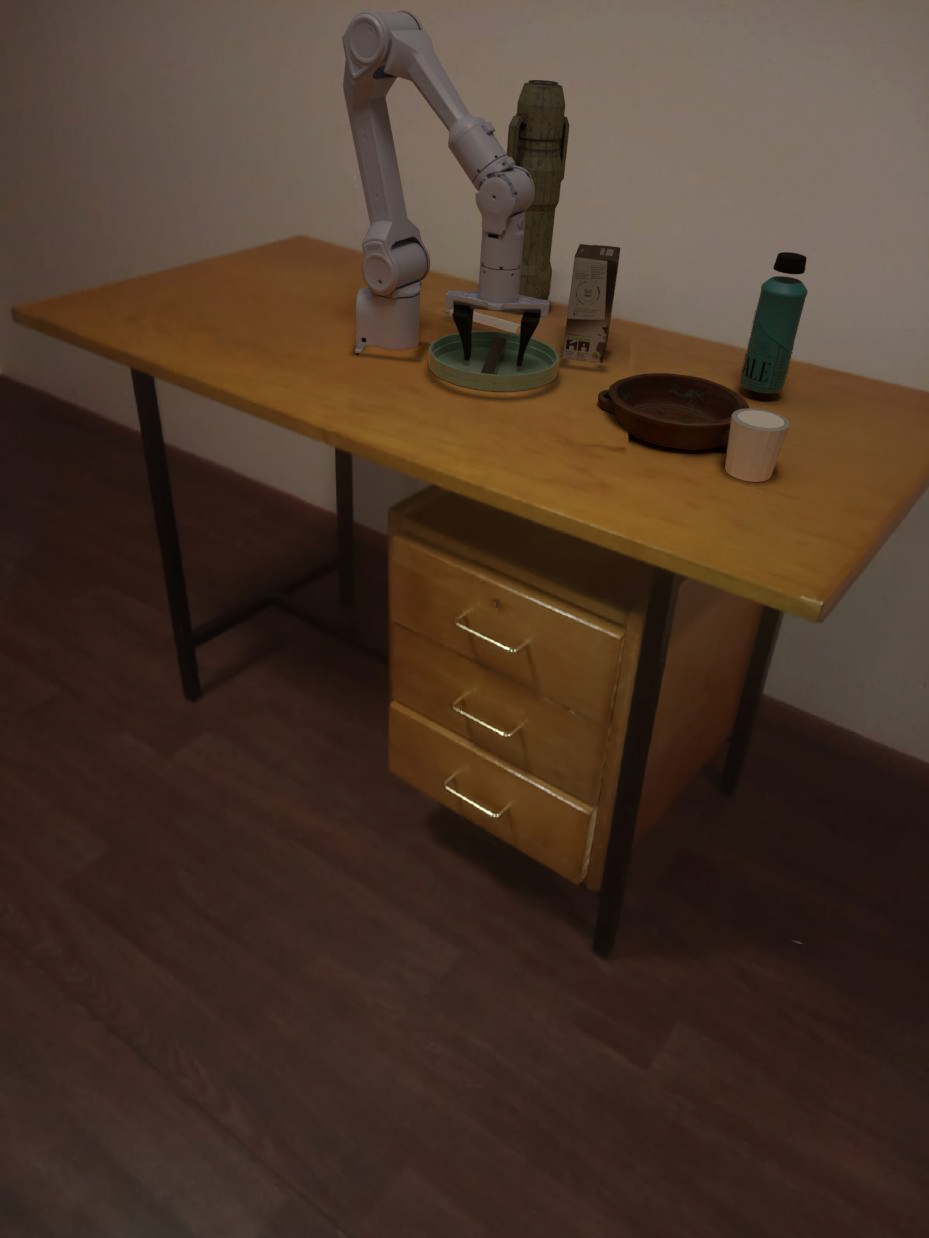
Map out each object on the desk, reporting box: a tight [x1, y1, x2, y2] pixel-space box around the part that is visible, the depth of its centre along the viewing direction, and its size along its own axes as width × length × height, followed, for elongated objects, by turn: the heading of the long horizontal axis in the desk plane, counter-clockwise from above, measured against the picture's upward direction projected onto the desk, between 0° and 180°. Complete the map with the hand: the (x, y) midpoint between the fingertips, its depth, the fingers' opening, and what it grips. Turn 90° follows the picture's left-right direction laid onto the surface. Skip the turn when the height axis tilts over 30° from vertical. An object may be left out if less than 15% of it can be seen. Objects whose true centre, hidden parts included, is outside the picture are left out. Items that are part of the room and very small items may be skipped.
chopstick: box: [481, 338, 506, 375], centre depth 139 cm, size 2×16×2 cm, turn 171°
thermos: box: [506, 79, 570, 300], centre depth 159 cm, size 9×12×35 cm
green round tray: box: [427, 330, 560, 393], centre depth 139 cm, size 19×19×4 cm
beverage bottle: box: [740, 251, 809, 394], centre depth 134 cm, size 6×7×20 cm
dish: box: [597, 372, 750, 451], centre depth 125 cm, size 18×22×5 cm
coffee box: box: [561, 243, 621, 364], centre depth 144 cm, size 9×6×16 cm
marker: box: [442, 308, 521, 334], centre depth 158 cm, size 3×2×16 cm
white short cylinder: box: [724, 407, 791, 483], centre depth 116 cm, size 7×7×7 cm
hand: (493, 361), depth 139 cm, fingers open, 7 cm apart
